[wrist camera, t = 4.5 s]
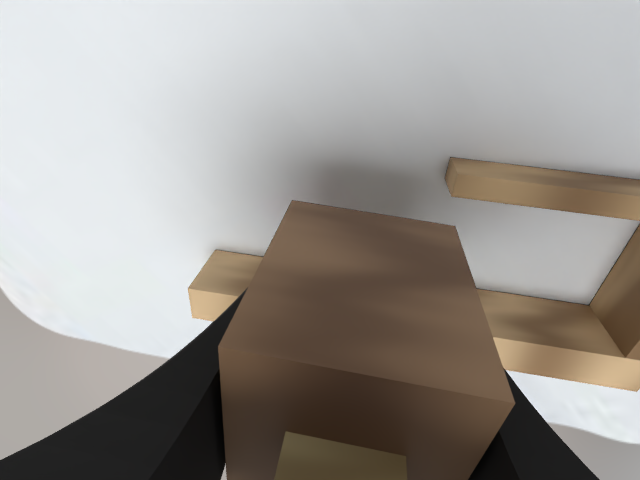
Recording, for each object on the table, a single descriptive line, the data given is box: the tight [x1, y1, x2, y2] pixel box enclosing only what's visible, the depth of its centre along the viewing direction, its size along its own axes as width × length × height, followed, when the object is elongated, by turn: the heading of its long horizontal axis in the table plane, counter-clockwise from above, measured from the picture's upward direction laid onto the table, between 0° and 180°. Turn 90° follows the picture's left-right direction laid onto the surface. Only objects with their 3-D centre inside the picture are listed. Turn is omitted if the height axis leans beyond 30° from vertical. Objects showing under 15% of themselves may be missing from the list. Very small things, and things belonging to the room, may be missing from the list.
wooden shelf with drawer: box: [188, 157, 640, 392], centre depth 17 cm, size 22×9×4 cm, turn 86°
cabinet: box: [218, 200, 515, 480], centre depth 10 cm, size 5×5×7 cm
